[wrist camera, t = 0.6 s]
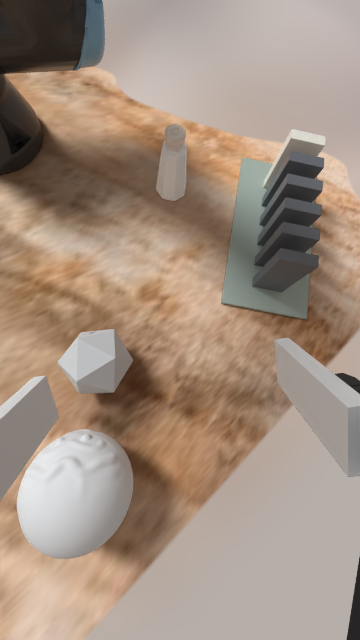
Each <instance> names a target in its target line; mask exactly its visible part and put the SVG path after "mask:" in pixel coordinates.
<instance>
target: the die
mask: <svg viewBox="0 0 360 640" xmlns="http://www.w3.org/2000/svg"><path fill="white" fill-rule="evenodd" d="M132 362H133V359H132V357H131V355H130V354H129V352H128V351H127V349H126V347H125V346H124V344H123V343H122V341H121V339H120V338H119V336H118V335H117V333H116V331H115V330H114V329H110V330H100V331H91V332H81V333H80V335H79V336H78V337H77V338H76V340H75V341H74V342H73V343H72V345H71V346H70V347H69V348H68V350H67V351H66V352H65V353H64V355H63V356H62V357H61V358H60V360H59V361H58V362H57V363H58V364H59V365H60V367H61V368H62V370H63V371H64V373H65V374H66V375H67V377H68V378H69V380H70V381H71V383H72V384H73V385H74V387H75V388H76V390H77V391H78V393H79V394H87V393H114V391H115V390H116V388H117V386H118V385H119V383H120V381H121V380H122V378H123V377H124V375H125V373H126V372H127V370H128V368H129V367H130V365H131V363H132Z"/></svg>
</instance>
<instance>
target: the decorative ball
mask: <svg viewBox="0 0 360 640" xmlns="http://www.w3.org/2000/svg"><path fill="white" fill-rule="evenodd" d="M132 494H133V472H132V467H131V463H130V461H129V458H128V456H127V454H126V452H125V451H124V449H123V448H122V447H121V446H120V444H119V443H117V442H116V441H115V440H114V439H113V438H111V437H109V436H108V435H106V434H104V433H101V432H96V431H92V430H89V429H80V430H77V431H72V432H69V433H67V434H65V435H64V436H62V437H60V438H58V439H57V440H55V441H53V442H52V443H50V444H49V445H48V446H47V447H45V448H44V449H43V450H42V451H41V452H40V453H39V454H38V455H37V456H36V458H35V459H34V460H33V462H32V463H31V464H30V466H29V467H28V468H27V470H26V473H25V475H24V477H23V479H22V482H21V485H20V489H19V493H18V499H17V512H18V517H19V522H20V526H21V528H22V531H23V533H24V535H25V537H26V538H27V540H28V541H29V543H30V544H31V545H32V546H33V547H34V548H35V549H37V550H38V551H39V552H41V553H43V554H45V555H47V556H50V557H53V558H58V559H71V558H76V557H80V556H83V555H86V554H88V553H90V552H92V551H94V550H96V549H97V548H99V547H100V546H101V545H103V544H104V543H105V542H106V541H107V540H108V539H109V538H110V537H111V536H112V535H113V534H114V533H115V532H116V530H117V529H118V528H119V526H120V525H121V523H122V522H123V520H124V518H125V516H126V514H127V511H128V509H129V506H130V503H131V499H132Z"/></svg>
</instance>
